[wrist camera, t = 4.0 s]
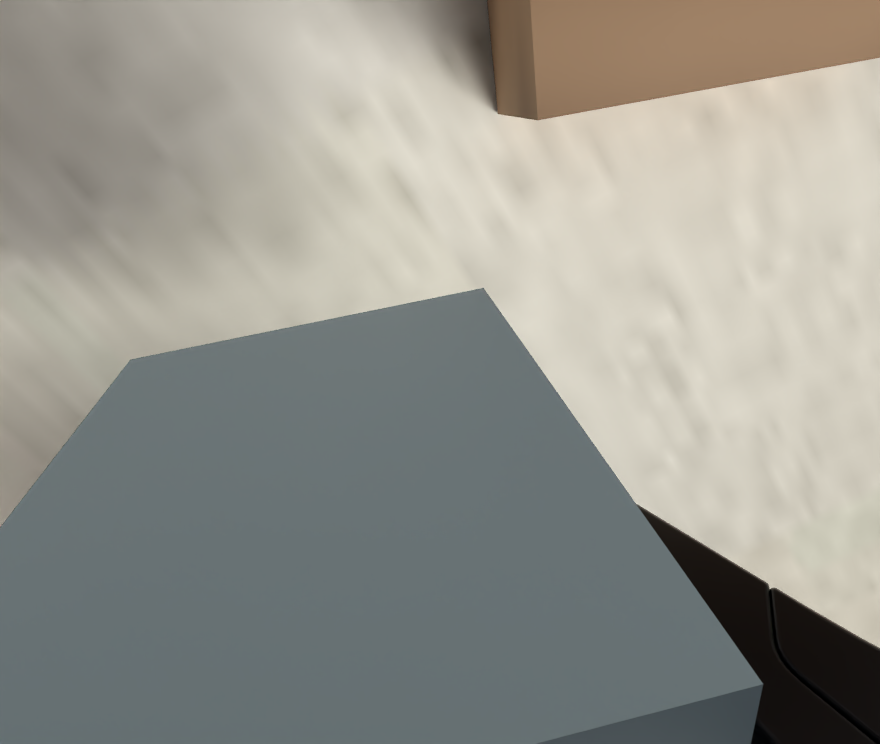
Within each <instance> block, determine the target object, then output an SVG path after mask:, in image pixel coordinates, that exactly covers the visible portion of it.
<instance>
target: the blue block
mask: <svg viewBox="0 0 880 744" xmlns="http://www.w3.org/2000/svg"><path fill="white" fill-rule="evenodd" d="M762 688H763V683H762V682H761V680H760V679H759V678H758V676H757V675H756V673H755V672H754V670H753V669H752V668H751V666H750V665H749V663H748V662H747V661H746V659H745V658H744V656H743V655H742V653H741V652H740V651H739V649H738V648H737V646H736V645H735V644H734V642H733V641H732V639H731V638H730V636H729V635H728V634H727V632H726V631H725V629H724V628H723V627H722V625H721V624H720V622H719V621H718V619H717V618H716V617H715V615H714V614H713V612H712V611H711V610H710V608H709V607H708V605H707V604H706V602H705V601H704V600H703V598H702V597H701V595H700V594H699V593H698V591H697V590H696V588H695V587H694V585H693V584H692V583H691V581H690V580H689V578H688V577H687V576H686V574H685V573H684V571H683V570H682V568H681V567H680V566H679V564H678V563H677V561H676V560H675V559H674V557H673V556H672V554H671V553H670V552H669V550H668V549H667V547H666V546H665V544H664V543H663V542H662V540H661V539H660V537H659V536H658V535H657V533H656V532H655V530H654V529H653V527H652V526H651V525H650V523H649V522H648V520H647V519H646V518H645V516H644V515H643V513H642V512H641V510H640V509H639V508H638V506H637V505H636V503H635V502H634V501H633V499H632V498H631V496H630V495H629V493H628V492H627V491H626V489H625V488H624V486H623V485H622V484H621V482H620V481H619V479H618V478H617V476H616V475H615V474H614V472H613V471H612V469H611V468H610V467H609V465H608V464H607V462H606V461H605V459H604V458H603V457H602V455H601V454H600V452H599V451H598V450H597V448H596V447H595V445H594V444H593V442H592V441H591V440H590V438H589V437H588V435H587V434H586V433H585V431H584V430H583V428H582V427H581V426H580V424H579V423H578V421H577V420H576V418H575V417H574V416H573V414H572V413H571V411H570V410H569V409H568V407H567V406H566V404H565V403H564V401H563V400H562V399H561V397H560V396H559V394H558V393H557V392H556V390H555V389H554V387H553V386H552V384H551V383H550V382H549V380H548V379H547V377H546V376H545V375H544V373H543V372H542V370H541V369H540V367H539V366H538V365H537V363H536V362H535V360H534V359H533V358H532V356H531V355H530V353H529V352H528V350H527V349H526V348H525V346H524V345H523V343H522V342H521V341H520V339H519V338H518V336H517V335H516V333H515V332H514V331H513V329H512V328H511V326H510V325H509V324H508V322H507V321H506V319H505V318H504V316H503V315H502V314H501V312H500V311H499V309H498V308H497V307H496V305H495V304H494V302H493V301H492V299H491V298H490V297H489V295H488V294H487V292H486V291H485V290H484V288H481V289H476V290H472V291H467V292H462V293H457V294H452V295H447V296H442V297H437V298H432V299H427V300H422V301H417V302H412V303H407V304H403V305H398V306H393V307H388V308H383V309H378V310H373V311H368V312H363V313H358V314H353V315H348V316H343V317H338V318H334V319H329V320H324V321H319V322H314V323H309V324H304V325H299V326H294V327H289V328H284V329H279V330H274V331H270V332H265V333H260V334H255V335H250V336H245V337H240V338H235V339H230V340H225V341H220V342H215V343H210V344H205V345H201V346H196V347H191V348H186V349H181V350H176V351H171V352H166V353H161V354H156V355H151V356H146V357H141V358H137V359H132V360H130V361H129V362H128V364H127V365H126V366H125V367H124V369H123V370H122V371H121V373H120V374H119V375H118V376H117V378H116V379H115V380H114V382H113V383H112V384H111V385H110V387H109V388H108V389H107V391H106V392H105V393H104V394H103V396H102V397H101V398H100V400H99V401H98V402H97V404H96V405H95V406H94V407H93V409H92V410H91V411H90V413H89V414H88V415H87V416H86V418H85V419H84V420H83V422H82V423H81V424H80V425H79V427H78V428H77V429H76V431H75V432H74V433H73V434H72V436H71V437H70V438H69V440H68V441H67V442H66V443H65V445H64V446H63V447H62V449H61V450H60V451H59V452H58V454H57V455H56V456H55V458H54V459H53V460H52V461H51V463H50V464H49V465H48V467H47V468H46V469H45V470H44V472H43V473H42V474H41V476H40V477H39V478H38V480H37V481H36V482H35V483H34V485H33V486H32V487H31V489H30V490H29V491H28V492H27V494H26V495H25V496H24V498H23V499H22V500H21V501H20V503H19V504H18V505H17V507H16V508H15V509H14V510H13V512H12V513H11V514H10V516H9V517H8V518H7V519H6V521H5V522H4V523H3V525H2V526H1V527H0V744H751V740H752V736H753V731H754V726H755V721H756V716H757V712H758V707H759V702H760V697H761V692H762Z"/></svg>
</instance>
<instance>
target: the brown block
mask: <svg viewBox="0 0 880 744" xmlns="http://www.w3.org/2000/svg"><path fill="white" fill-rule="evenodd" d="M487 4H488V15H489V26H490V36H491V47H492V57H493V68H494V78H495V89H496V100H497V110H498V114H501V115H508V116H514V117H521V118H527V119H534V120H541V119H547V118H552V117H558V116H563V115H569V114H574V113H580V112H585V111H590V110H596V109H601V108H607V107H612V106H618V105H623V104H629V103H634V102H640V101H645V100H651V99H656V98H661V97H667V96H672V95H678V94H683V93H689V92H694V91H700V90H705V89H711V88H716V87H722V86H727V85H733V84H738V83H743V82H749V81H754V80H760V79H765V78H771V77H776V76H782V75H787V74H793V73H798V72H804V71H809V70H814V69H820V68H825V67H831V66H836V65H842V64H847V63H853V62H858V61H864V60H869V59H875V58H880V0H487Z"/></svg>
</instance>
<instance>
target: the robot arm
mask: <svg viewBox="0 0 880 744" xmlns="http://www.w3.org/2000/svg"><path fill="white" fill-rule="evenodd" d="M636 505H637V504H636ZM637 506H638V508H639V509H640V510H641V512H642V513H643V515H644V516H645V518H646V519H647V520H648V522H649V523H650V525H651V526H652V527H653V529H654V530H655V532H656V533H657V535H658V536H659V537H660V539H661V540H662V542H663V543H664V544H665V546H666V547H667V549H668V550H669V552H670V553H671V554H672V556H673V557H674V559H675V560H676V561H677V563H678V564H679V566H680V567H681V568H682V570H683V571H684V573H685V574H686V576H687V577H688V578H689V580H690V581H691V583H692V584H693V585H694V587H695V588H696V590H697V591H698V593H699V594H700V595H701V597H702V598H703V600H704V601H705V602H706V604H707V605H708V607H709V608H710V610H711V611H712V612H713V614H714V615H715V617H716V618H717V619H718V621H719V622H720V624H721V625H722V627H723V628H724V629H725V631H726V632H727V634H728V635H729V636H730V638H731V639H732V641H733V642H734V644H735V645H736V646H737V648H738V649H739V651H740V652H741V653H742V655H743V656H744V658H745V659H746V661H747V662H748V663H749V665H750V666H751V668H752V669H753V670H754V672H755V673H756V675H757V676H758V678H759V679H760V680H761V682H762V683H763V688H762V692H761V697H760V702H759V707H758V712H757V716H756V721H755V726H754V731H753V736H752V740H751V744H880V648H879V647H877V646H875V645H873V644H871V643H869V642H867V641H866V640H864V639H862V638H860V637H858V636H857V635H855V634H853V633H851V632H850V631H848V630H846V629H845V628H843V627H841V626H839V625H838V624H836V623H834V622H832V621H831V620H829V619H827V618H826V617H824V616H822V615H820V614H819V613H817V612H815V611H813V610H812V609H810V608H808V607H807V606H805V605H803V604H802V603H800V602H798V601H797V600H795V599H793V598H792V597H790V596H788V595H787V594H785V593H783V592H782V591H780V590H778V589H777V588H771V589H769V585H768V583H766V582H765V581H763V580H761V579H760V578H758V577H756V576H755V575H753V574H751V573H750V572H748V571H747V570H745V569H743V568H742V567H740V566H738V565H737V564H735V563H733V562H732V561H730V560H728V559H727V558H725V557H723V556H722V555H720V554H718V553H717V552H715V551H713V550H712V549H710V548H708V547H707V546H705V545H704V544H702V543H700V542H699V541H697V540H695V539H694V538H692V537H690V536H689V535H687V534H685V533H684V532H682V531H680V530H679V529H677V528H675V527H674V526H672V525H670V524H669V523H667V522H665V521H664V520H662V519H661V518H659V517H657V516H656V515H654V514H652V513H651V512H649V511H647V510H646V509H644V508H642V507H641V506H639V505H637Z"/></svg>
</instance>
